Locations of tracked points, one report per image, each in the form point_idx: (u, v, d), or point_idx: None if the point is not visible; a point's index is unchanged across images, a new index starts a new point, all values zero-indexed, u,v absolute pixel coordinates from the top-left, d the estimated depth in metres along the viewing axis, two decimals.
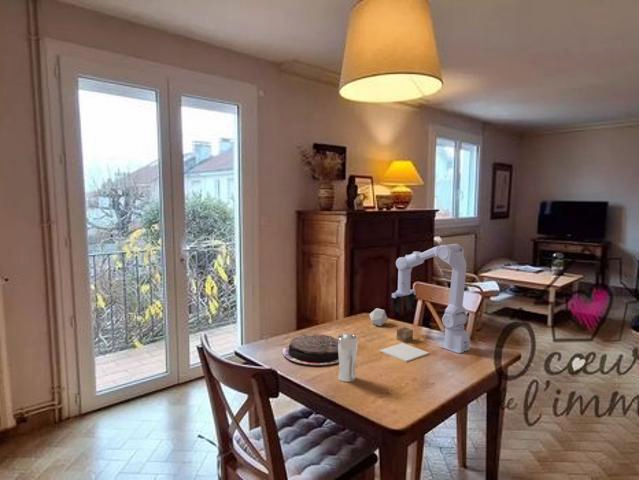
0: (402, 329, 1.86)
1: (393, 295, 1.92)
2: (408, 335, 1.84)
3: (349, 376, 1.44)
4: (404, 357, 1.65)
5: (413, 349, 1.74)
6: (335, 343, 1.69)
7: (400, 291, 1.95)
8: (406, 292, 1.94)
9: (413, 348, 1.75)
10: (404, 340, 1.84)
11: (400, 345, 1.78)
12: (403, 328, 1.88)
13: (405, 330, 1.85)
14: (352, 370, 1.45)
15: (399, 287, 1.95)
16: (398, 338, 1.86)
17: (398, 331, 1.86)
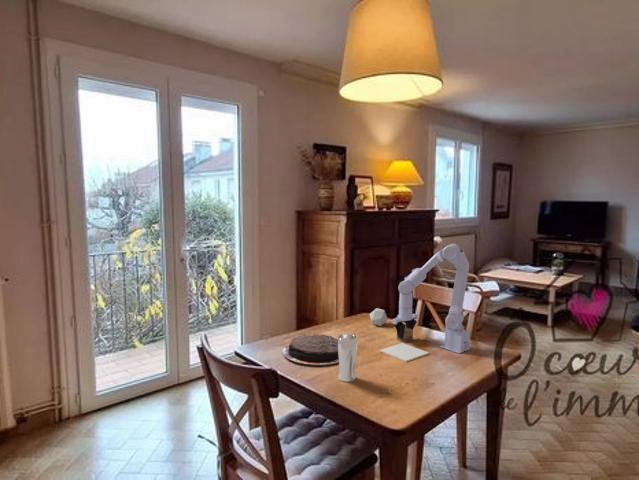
0: None
1: (394, 321, 1.81)
2: (408, 335, 1.84)
3: (349, 376, 1.44)
4: (404, 357, 1.65)
5: (413, 349, 1.74)
6: (335, 343, 1.69)
7: (401, 316, 1.84)
8: (408, 318, 1.83)
9: (413, 348, 1.75)
10: (404, 340, 1.84)
11: (400, 345, 1.78)
12: None
13: (405, 330, 1.85)
14: (352, 370, 1.45)
15: (400, 312, 1.84)
16: (398, 338, 1.86)
17: None
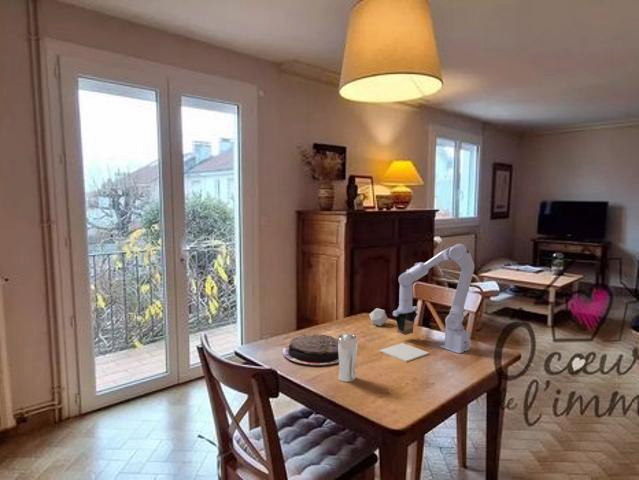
0: None
1: (394, 313, 1.81)
2: (408, 327, 1.84)
3: (349, 376, 1.44)
4: (404, 357, 1.65)
5: (413, 349, 1.74)
6: (335, 343, 1.69)
7: (402, 309, 1.83)
8: (408, 310, 1.83)
9: (413, 348, 1.75)
10: (404, 332, 1.83)
11: (400, 345, 1.78)
12: None
13: (405, 322, 1.85)
14: (352, 370, 1.45)
15: (400, 304, 1.84)
16: (398, 331, 1.86)
17: None
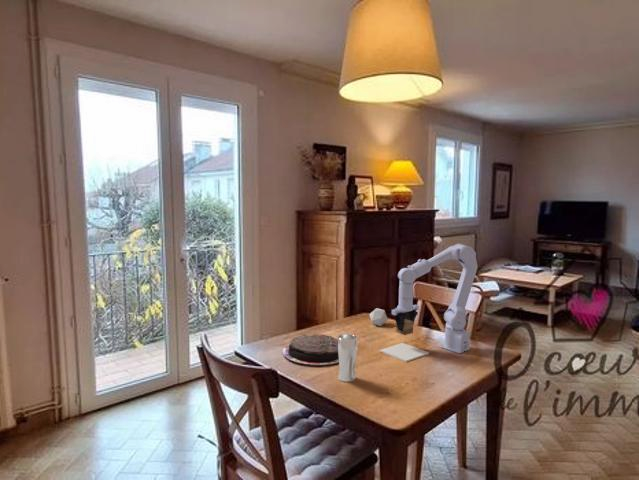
0: None
1: (393, 312, 1.70)
2: (408, 327, 1.73)
3: (349, 376, 1.44)
4: (404, 357, 1.65)
5: (413, 349, 1.74)
6: (335, 343, 1.69)
7: (401, 307, 1.73)
8: (408, 308, 1.72)
9: (413, 348, 1.75)
10: (404, 332, 1.73)
11: (400, 345, 1.78)
12: None
13: (405, 322, 1.74)
14: (352, 370, 1.45)
15: (400, 303, 1.73)
16: (397, 330, 1.75)
17: None
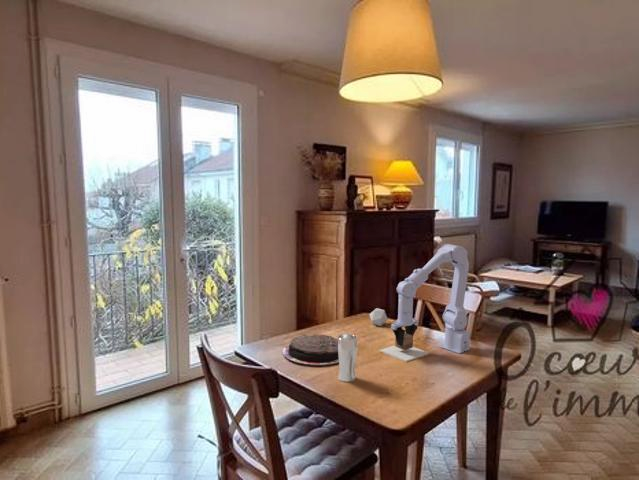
0: None
1: (393, 326, 1.66)
2: (408, 342, 1.69)
3: (349, 376, 1.44)
4: (404, 357, 1.65)
5: (413, 349, 1.74)
6: (335, 343, 1.69)
7: (401, 321, 1.68)
8: (408, 323, 1.68)
9: (413, 348, 1.75)
10: (403, 347, 1.68)
11: None
12: None
13: (404, 336, 1.70)
14: (352, 370, 1.45)
15: (400, 317, 1.69)
16: (397, 345, 1.71)
17: None
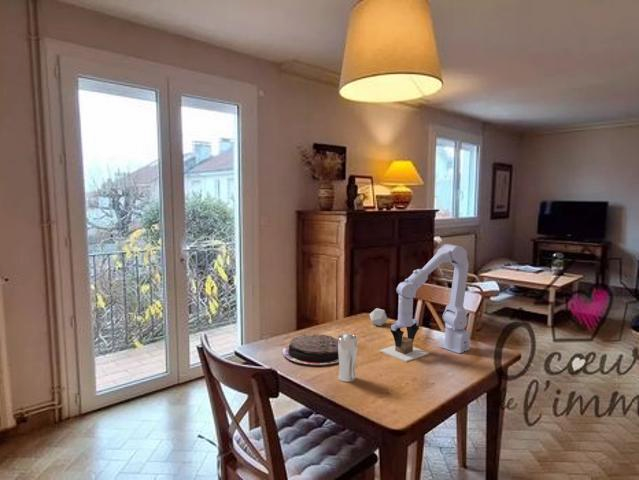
0: None
1: (393, 327, 1.66)
2: (408, 346, 1.69)
3: (349, 376, 1.44)
4: (404, 357, 1.65)
5: (413, 349, 1.74)
6: (335, 343, 1.69)
7: (401, 322, 1.68)
8: (408, 323, 1.68)
9: (413, 348, 1.75)
10: (403, 351, 1.69)
11: None
12: (402, 338, 1.73)
13: (404, 340, 1.70)
14: (352, 370, 1.45)
15: (399, 317, 1.69)
16: (397, 349, 1.71)
17: None
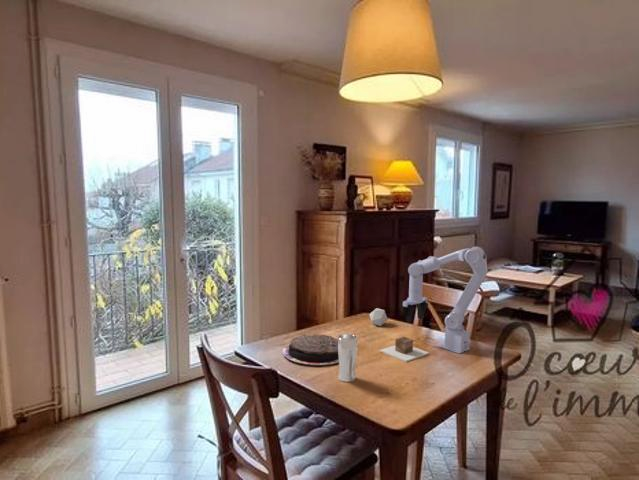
0: (401, 339, 1.71)
1: (404, 304, 1.80)
2: (408, 346, 1.69)
3: (349, 376, 1.44)
4: (404, 357, 1.65)
5: (413, 349, 1.74)
6: (335, 343, 1.69)
7: (411, 299, 1.82)
8: (418, 300, 1.81)
9: (413, 348, 1.75)
10: (403, 351, 1.69)
11: None
12: (402, 338, 1.73)
13: (404, 340, 1.70)
14: (352, 370, 1.45)
15: (410, 295, 1.82)
16: (397, 349, 1.71)
17: (397, 341, 1.71)
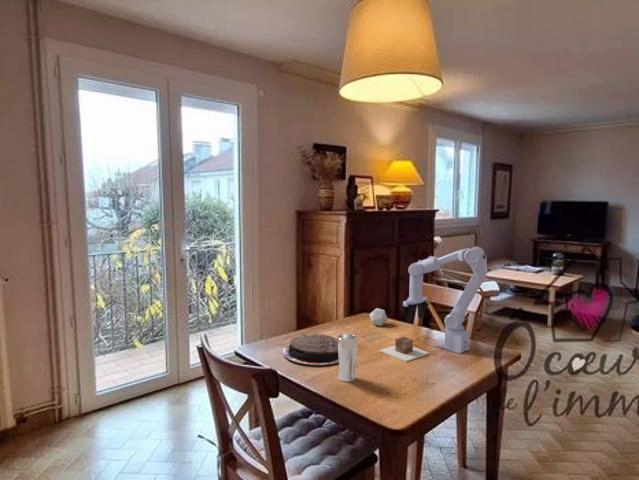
0: (401, 339, 1.71)
1: (404, 303, 1.80)
2: (408, 346, 1.69)
3: (349, 376, 1.44)
4: (404, 357, 1.65)
5: (413, 349, 1.74)
6: (335, 343, 1.69)
7: (412, 299, 1.82)
8: (418, 300, 1.82)
9: (413, 348, 1.75)
10: (403, 351, 1.69)
11: None
12: (402, 338, 1.73)
13: (404, 340, 1.70)
14: (352, 370, 1.45)
15: (411, 295, 1.83)
16: (397, 349, 1.71)
17: (397, 341, 1.71)
